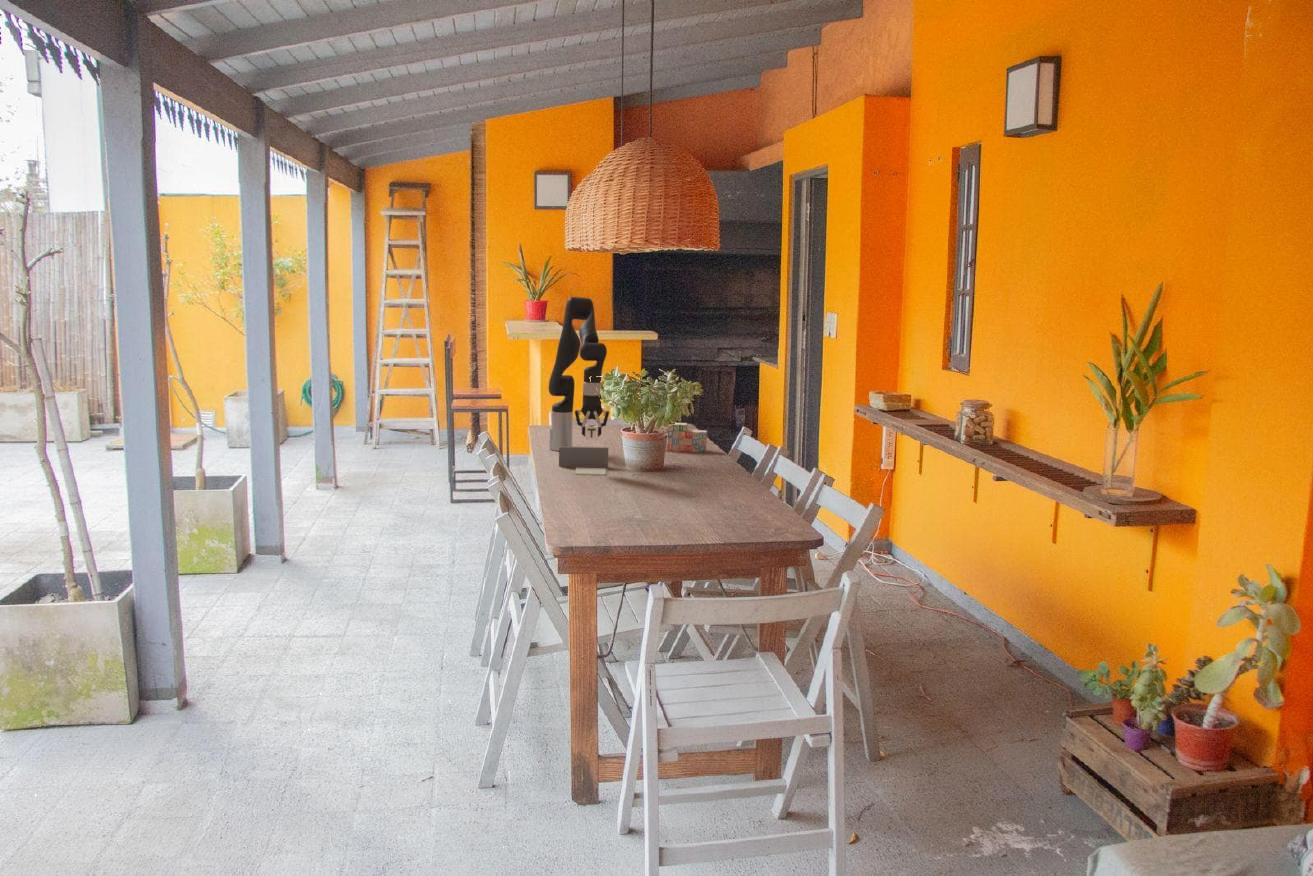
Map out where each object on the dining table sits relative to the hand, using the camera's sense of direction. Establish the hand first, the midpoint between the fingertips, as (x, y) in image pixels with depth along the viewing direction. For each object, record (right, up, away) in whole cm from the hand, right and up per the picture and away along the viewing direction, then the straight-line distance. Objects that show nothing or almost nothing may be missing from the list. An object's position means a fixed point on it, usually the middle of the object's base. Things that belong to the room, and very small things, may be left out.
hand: (591, 436), depth 401 cm
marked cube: (0, -1, 0) cm, 1 cm away
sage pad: (-1, -14, +2) cm, 14 cm away
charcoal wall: (-4, -12, +13) cm, 18 cm away
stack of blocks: (+38, -7, +59) cm, 70 cm away
